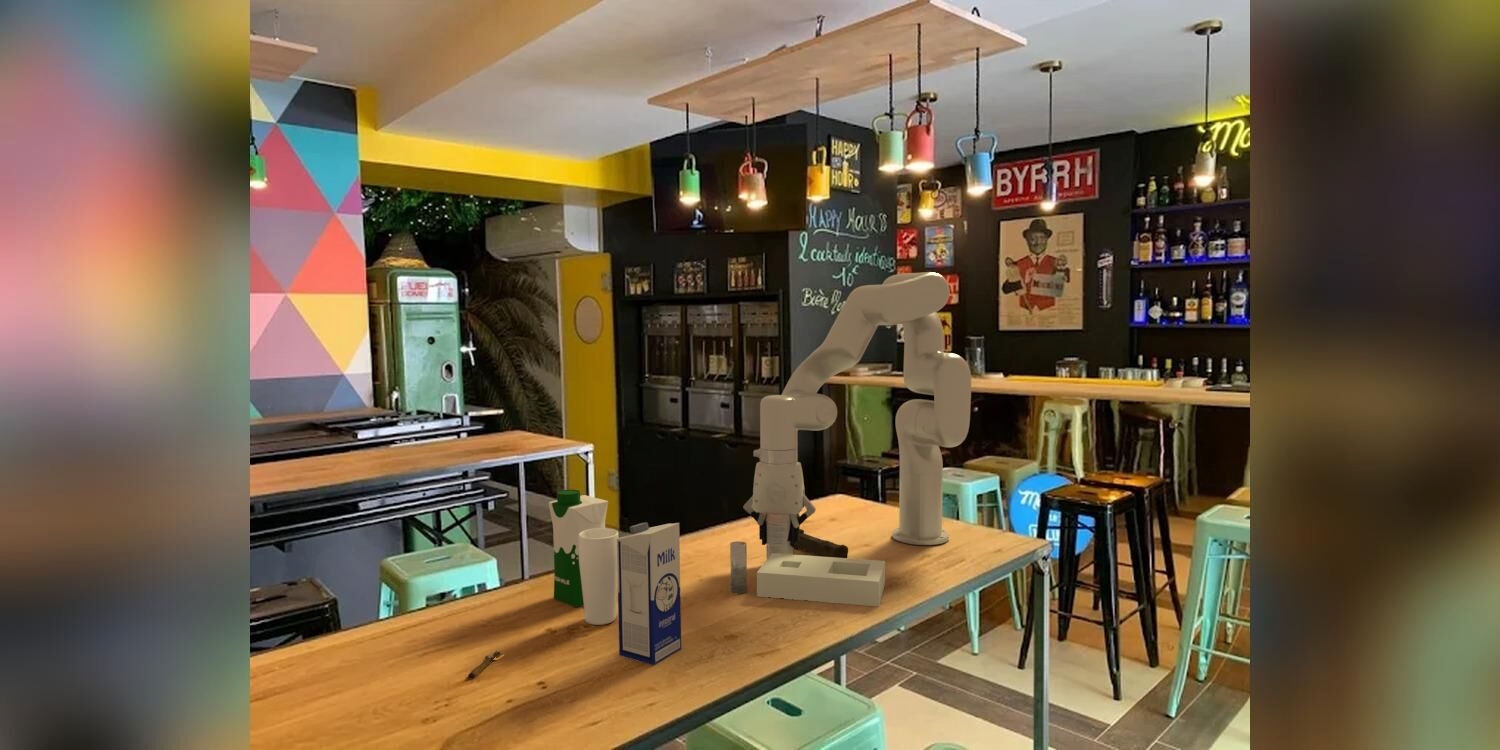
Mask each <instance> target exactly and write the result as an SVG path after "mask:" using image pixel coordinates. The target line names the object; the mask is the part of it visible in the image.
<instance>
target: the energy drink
mask: <svg viewBox="0 0 1500 750" xmlns="http://www.w3.org/2000/svg"><path fill="white" fill-rule="evenodd" d="M792 524H793V523H792V520H791V517H790V514H779V513H766V541H767V543H766V560H767V559H768V557H769V556H770V555H771V554H772V553H777V554H791V555H794V554H793V551H794V549H793V547H792V546H791V527H792Z"/></svg>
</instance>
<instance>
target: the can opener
mask: <svg viewBox="0 0 1500 750" xmlns="http://www.w3.org/2000/svg"><path fill="white" fill-rule="evenodd" d="M498 653H499V654H498ZM498 655H501V654H500V651H499V650H495V652H494V653H493V655H491V656H490V657H489V655H486V656H484V658H485V660H484V661H482V662H481V663H480V664H479V665H477V666H476V667H475V668H473V669H472V670H471V671H470V673H469V674H468V676H467V679H469V678H474V679H476V678H477V677H478V676H479V675H480V674H482V673H481V672H483V671H485V669H486V668H488V667H489V666H490V665H491V664H492V663H493V661H492V660H493V659H494V658H495V657H498ZM490 663H491V664H490ZM489 664H490V665H489ZM488 665H489V666H488ZM487 666H488V667H487ZM485 667H486V668H485ZM478 674H479V675H478ZM477 675H478V676H477ZM476 676H477V677H476ZM475 677H476V678H475Z"/></svg>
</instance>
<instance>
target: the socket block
mask: <svg viewBox="0 0 1500 750" xmlns="http://www.w3.org/2000/svg"><path fill="white" fill-rule="evenodd" d="M885 585H886V561H885V560H878V559H862V558H861V559H860V558H848V557H847V558H835V557H822V556H819V555H807V554H806V555H803V554H793V555H791V554H777V553H772V554H771V555H770V556H769V557H768V559H767V558H766V560H765V561H764V562H763V564H762V565H761V566H760V568H759V569H758V570H757V572H756V597H757V596H759V597H760V598H768V597H771V598H770V599H780V598H784V599H783V600H792V599H793V600H794V601H804V600H808V601H807V602H816V601H817V603H818V602H819V603H830V604H839V605H840V604H844V605H853V606H855V605H856V606H866V607H867V606H868V607H878V608H879V607H880V604H881V600H882V596H883V593H884V589H885ZM759 597H758V598H759Z"/></svg>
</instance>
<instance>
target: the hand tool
mask: <svg viewBox="0 0 1500 750" xmlns="http://www.w3.org/2000/svg"><path fill="white" fill-rule="evenodd" d="M793 548H794V549H793V550H795V549H796V550H802V551H805V552H808V553H812V554H814V555H815V556H820V557H835V558H848V556H849V555H848V554H849V547H848V546H847V545H846V544H837V543H834V542H832V541H830V540H826V539H825V540H824V539H822V538H818V537H815V536H812V535H809V534H806V533H805V530H804V529H802V528H800V540H799V542H797V544H796V545H795V547H793Z"/></svg>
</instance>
